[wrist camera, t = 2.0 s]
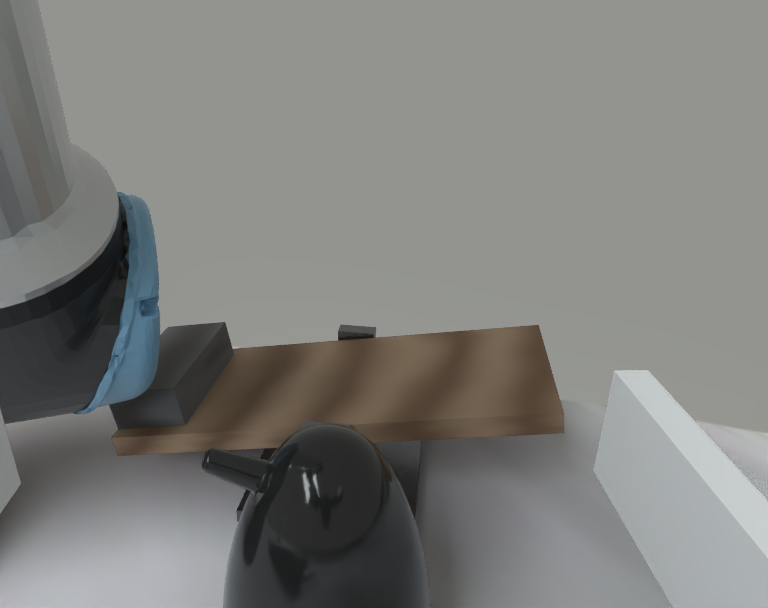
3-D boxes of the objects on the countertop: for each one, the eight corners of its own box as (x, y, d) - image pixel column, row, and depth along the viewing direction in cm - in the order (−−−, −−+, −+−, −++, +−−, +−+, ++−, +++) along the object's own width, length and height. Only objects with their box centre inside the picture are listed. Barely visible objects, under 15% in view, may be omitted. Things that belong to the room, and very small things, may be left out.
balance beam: (117, 455, 42) (96, 401, 40) (187, 367, 53) (173, 321, 51) (564, 433, 37) (562, 369, 35) (539, 341, 48) (537, 290, 46)
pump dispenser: (244, 589, 36) (224, 371, 30) (416, 588, 37) (433, 374, 30) (203, 783, 27) (161, 526, 21) (434, 779, 27) (463, 527, 21)
